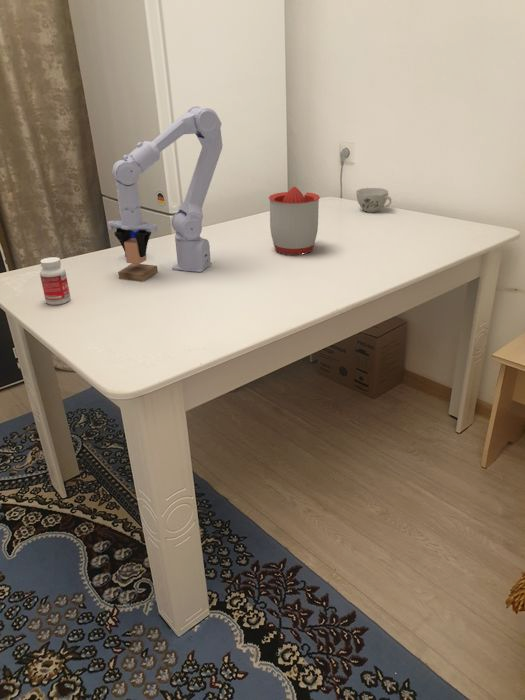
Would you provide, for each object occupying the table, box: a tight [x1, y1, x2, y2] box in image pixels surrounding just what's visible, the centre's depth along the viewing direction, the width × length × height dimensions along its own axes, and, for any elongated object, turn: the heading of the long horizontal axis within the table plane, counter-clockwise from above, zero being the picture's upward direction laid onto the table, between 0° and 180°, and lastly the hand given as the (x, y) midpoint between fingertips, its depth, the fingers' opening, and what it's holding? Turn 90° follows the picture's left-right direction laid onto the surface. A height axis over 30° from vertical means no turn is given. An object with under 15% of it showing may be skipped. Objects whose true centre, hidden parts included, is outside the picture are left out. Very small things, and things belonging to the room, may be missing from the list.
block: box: [124, 238, 147, 264], centre depth 155 cm, size 4×4×6 cm
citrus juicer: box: [268, 186, 321, 255], centre depth 173 cm, size 16×17×20 cm
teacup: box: [355, 187, 392, 213], centre depth 218 cm, size 15×12×8 cm
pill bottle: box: [39, 256, 71, 306], centre depth 140 cm, size 6×6×11 cm
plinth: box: [117, 263, 159, 282], centre depth 158 cm, size 8×8×2 cm
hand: (135, 255), depth 156 cm, fingers closed on block, 4 cm apart
